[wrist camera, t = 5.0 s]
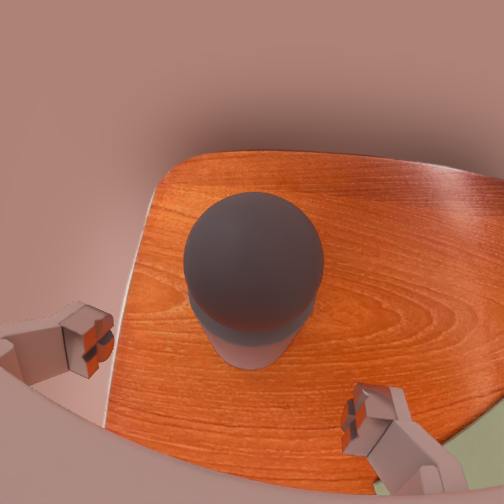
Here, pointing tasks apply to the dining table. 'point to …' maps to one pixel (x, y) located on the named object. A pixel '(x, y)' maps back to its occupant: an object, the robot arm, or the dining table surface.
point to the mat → (476, 451)
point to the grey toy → (252, 276)
